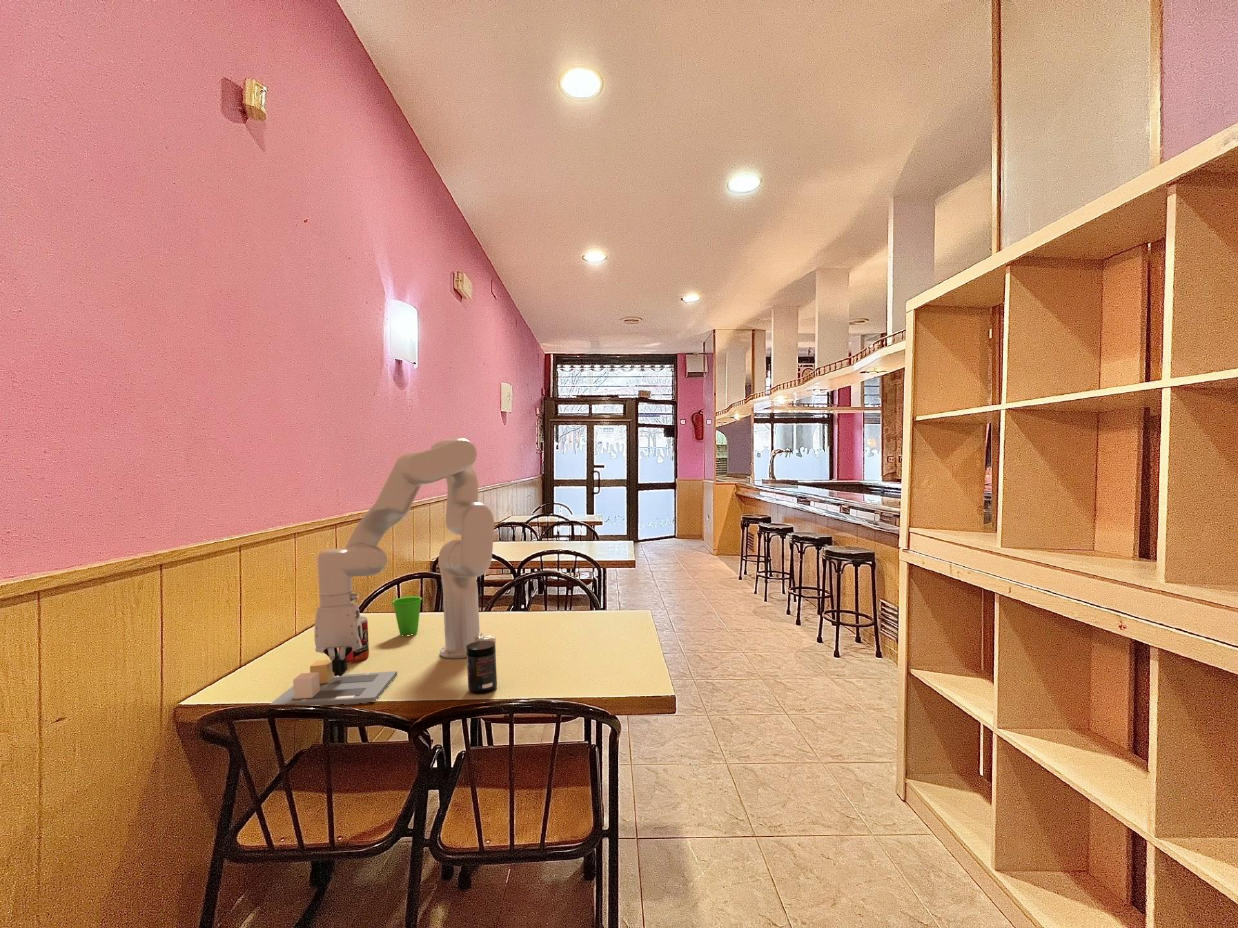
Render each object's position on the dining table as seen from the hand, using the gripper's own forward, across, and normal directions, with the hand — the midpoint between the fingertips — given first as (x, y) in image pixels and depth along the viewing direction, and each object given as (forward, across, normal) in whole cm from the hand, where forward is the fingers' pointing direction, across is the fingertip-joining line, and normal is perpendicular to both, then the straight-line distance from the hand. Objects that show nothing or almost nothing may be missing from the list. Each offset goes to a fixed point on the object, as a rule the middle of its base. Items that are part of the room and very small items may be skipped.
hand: (340, 674), depth 148 cm
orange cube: (+1, +4, 0) cm, 4 cm away
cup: (+3, -5, -43) cm, 43 cm away
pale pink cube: (+1, +4, +9) cm, 10 cm away
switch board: (+3, -1, +4) cm, 5 cm away
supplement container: (+3, -36, +10) cm, 37 cm away
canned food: (+3, +4, -21) cm, 21 cm away
